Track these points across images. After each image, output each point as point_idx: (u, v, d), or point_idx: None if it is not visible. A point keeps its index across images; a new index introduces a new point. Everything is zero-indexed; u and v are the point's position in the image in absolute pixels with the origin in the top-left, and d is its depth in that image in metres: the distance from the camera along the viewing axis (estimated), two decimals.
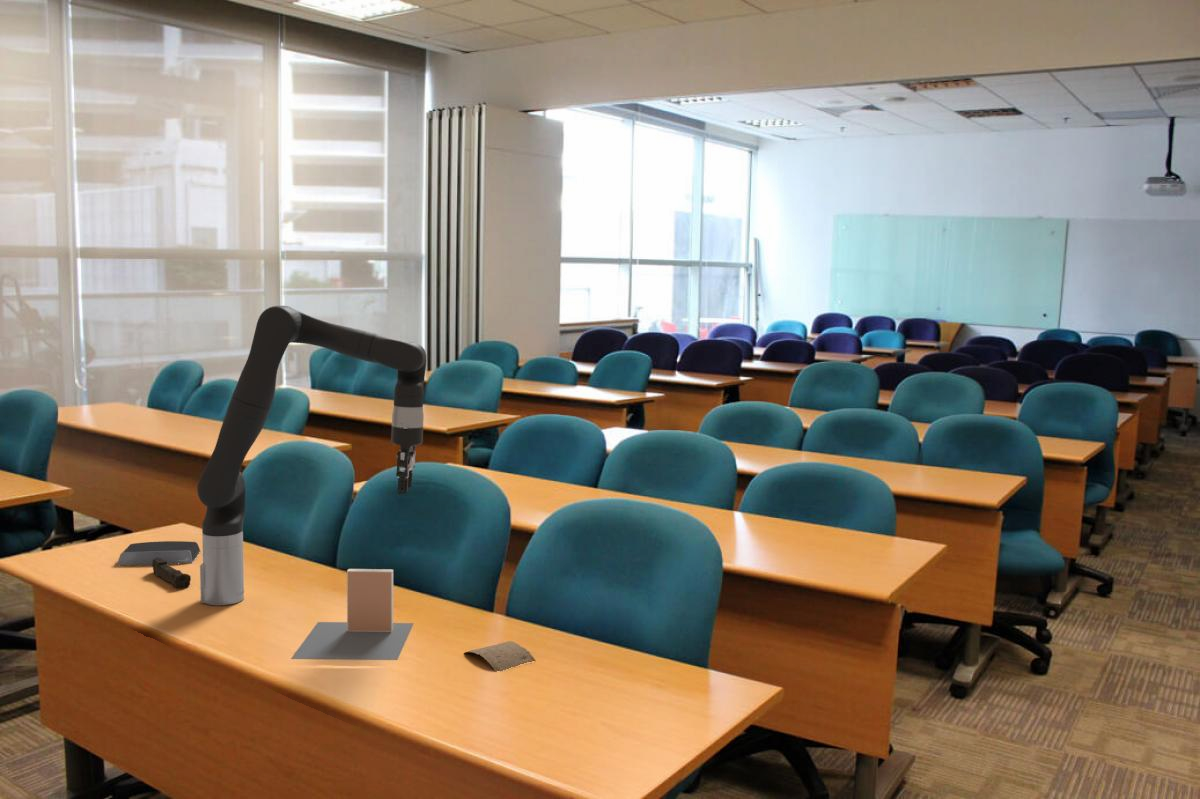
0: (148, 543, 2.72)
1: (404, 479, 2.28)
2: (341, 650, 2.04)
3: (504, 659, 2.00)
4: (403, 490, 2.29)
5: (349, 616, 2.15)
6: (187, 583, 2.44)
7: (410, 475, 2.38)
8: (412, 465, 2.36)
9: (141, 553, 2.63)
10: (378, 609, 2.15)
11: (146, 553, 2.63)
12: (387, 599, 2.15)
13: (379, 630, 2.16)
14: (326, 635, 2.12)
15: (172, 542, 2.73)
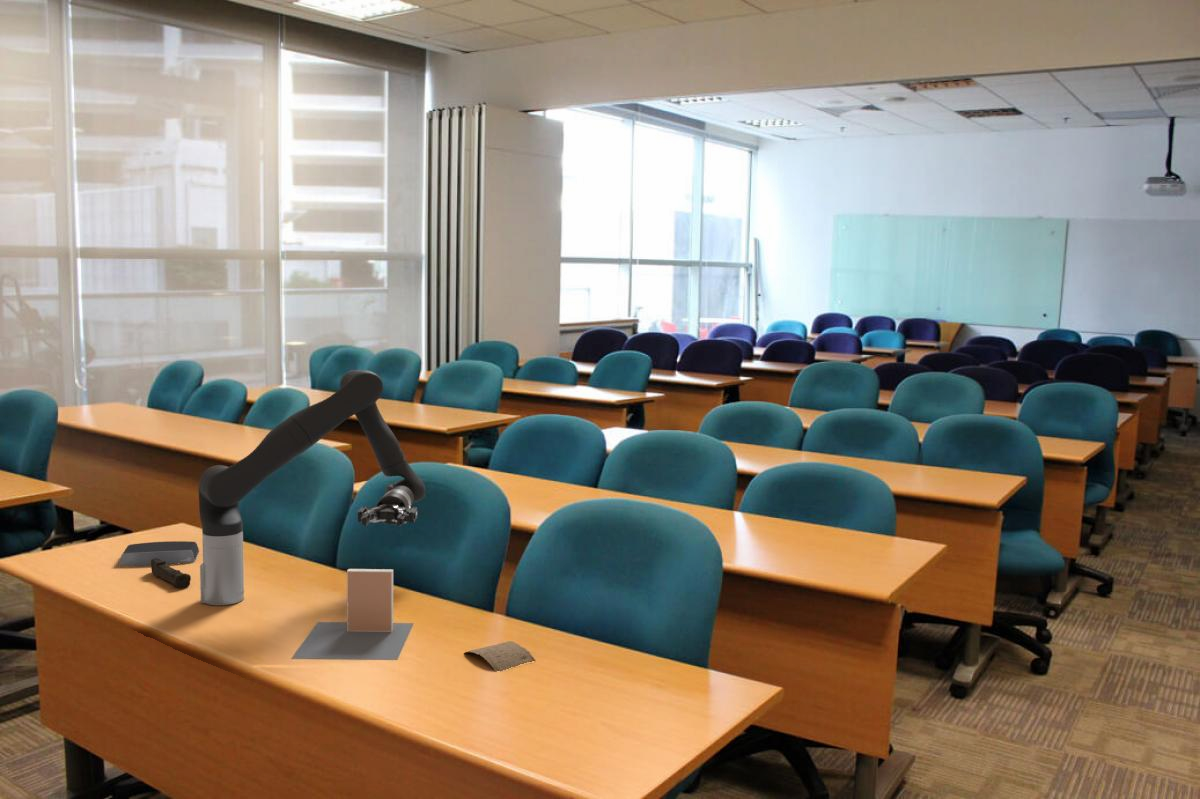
0: (147, 544, 2.71)
1: (405, 520, 2.31)
2: (341, 650, 2.04)
3: (504, 659, 2.00)
4: (403, 522, 2.29)
5: (349, 616, 2.15)
6: (187, 582, 2.44)
7: (368, 521, 2.30)
8: (374, 520, 2.33)
9: (142, 554, 2.62)
10: (378, 609, 2.15)
11: (148, 554, 2.62)
12: (387, 599, 2.15)
13: (379, 630, 2.16)
14: (326, 635, 2.12)
15: (171, 542, 2.73)
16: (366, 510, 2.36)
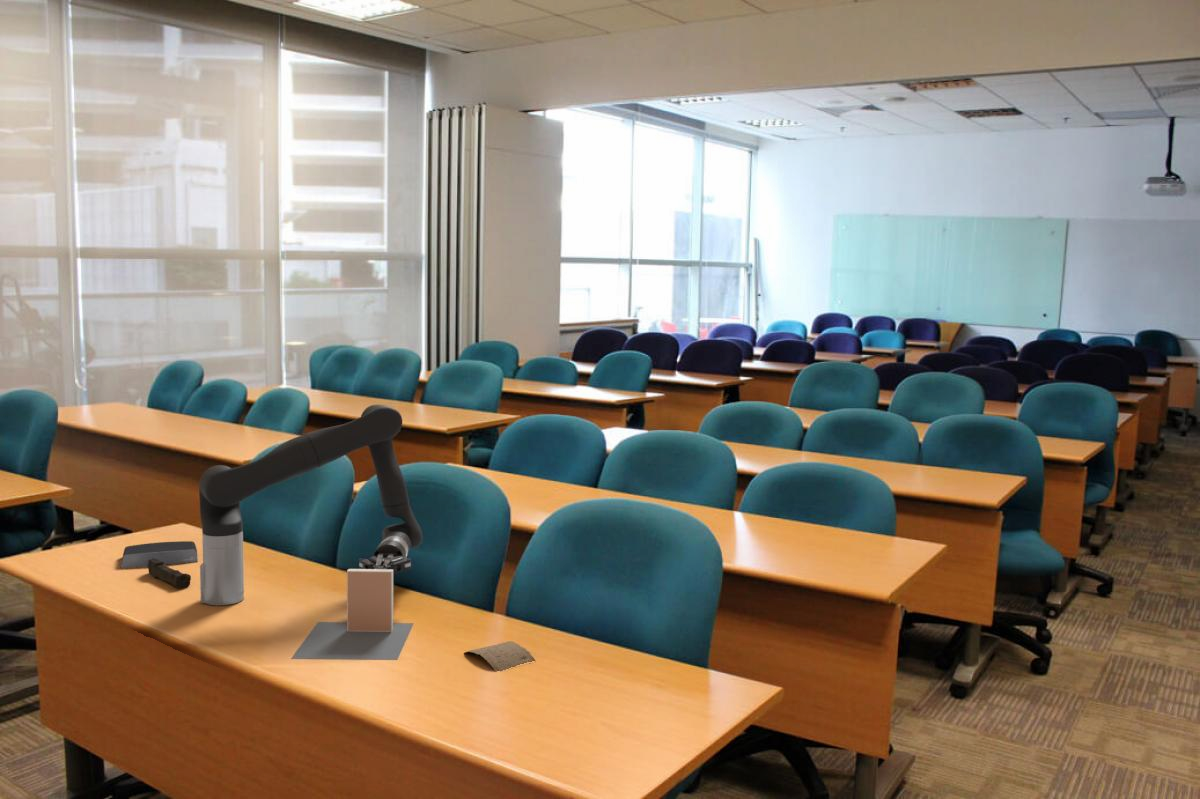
0: (145, 545, 2.70)
1: None
2: (341, 650, 2.04)
3: (504, 659, 2.00)
4: None
5: (349, 616, 2.15)
6: (187, 582, 2.44)
7: None
8: None
9: (145, 554, 2.61)
10: (378, 609, 2.15)
11: (150, 554, 2.62)
12: (387, 599, 2.15)
13: (379, 630, 2.16)
14: (326, 635, 2.12)
15: (169, 543, 2.73)
16: None
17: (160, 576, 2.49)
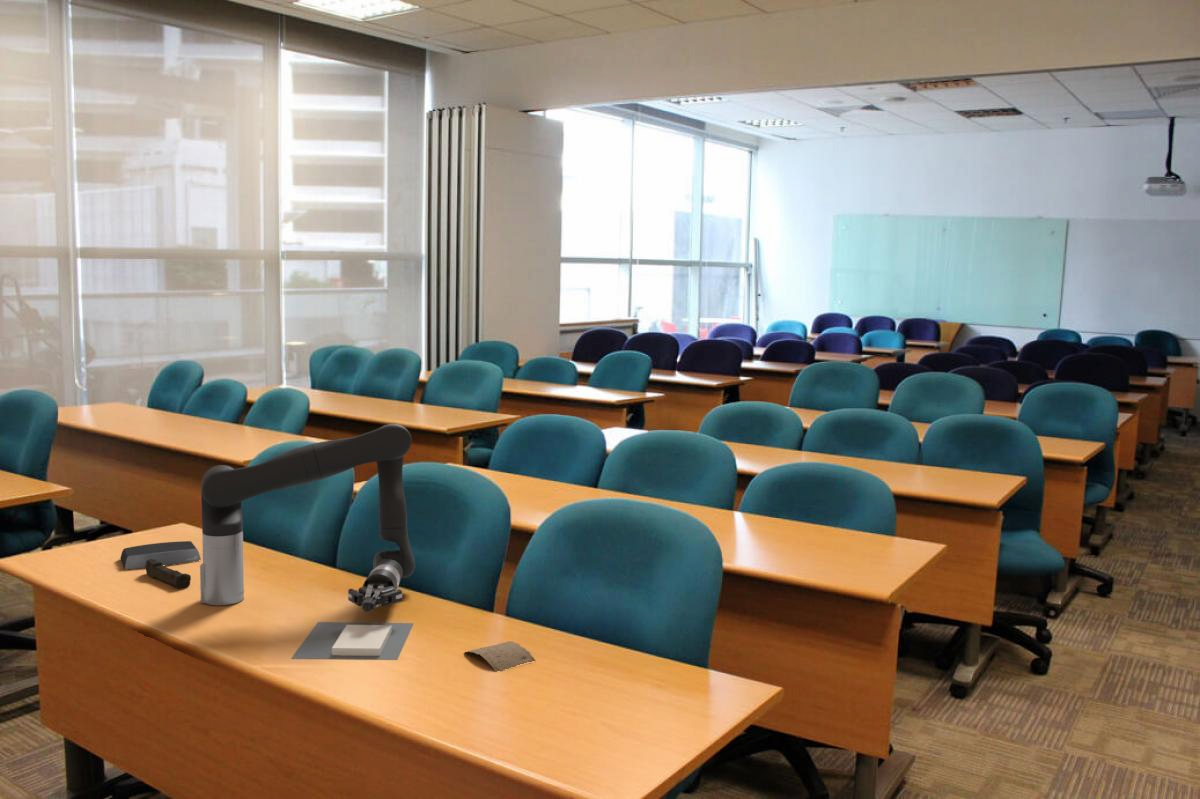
0: (143, 546, 2.69)
1: (377, 604, 2.16)
2: None
3: (504, 659, 2.00)
4: (374, 607, 2.13)
5: None
6: (187, 582, 2.44)
7: None
8: None
9: (149, 555, 2.61)
10: None
11: (154, 555, 2.61)
12: None
13: None
14: (326, 635, 2.12)
15: (167, 543, 2.72)
16: None
17: (159, 576, 2.48)
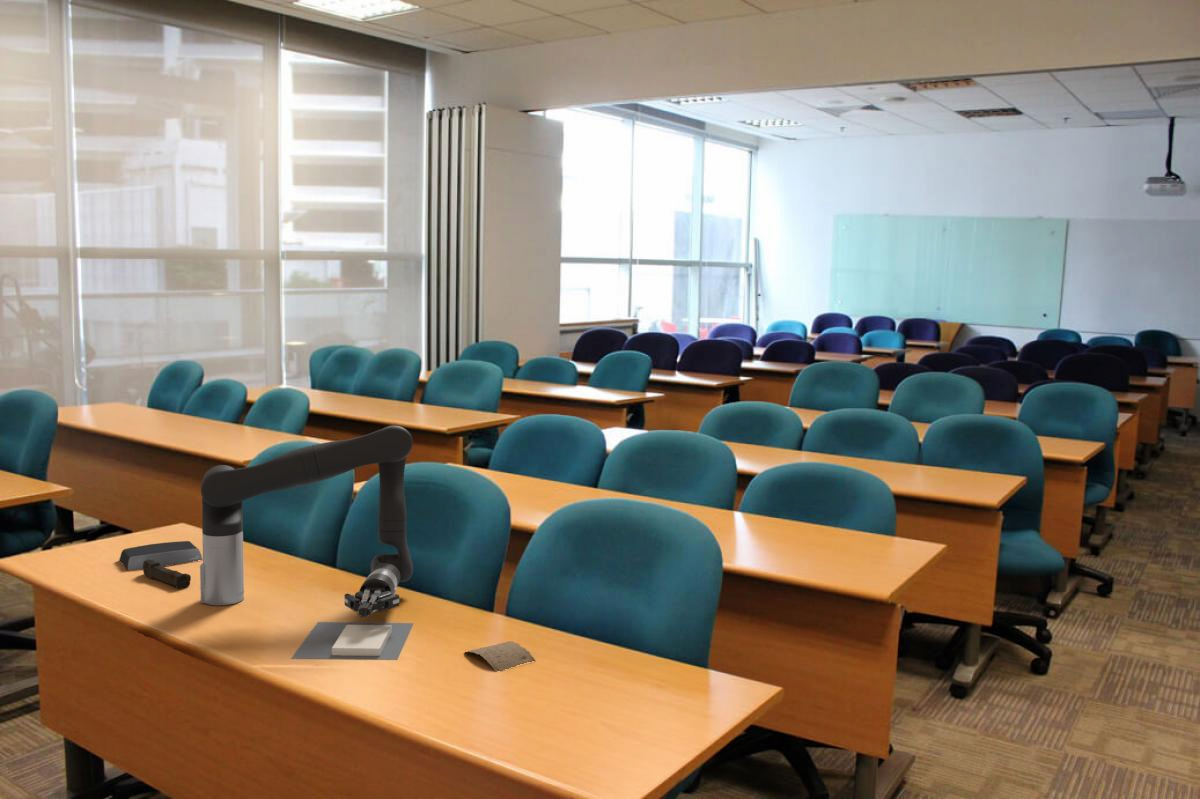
0: (143, 547, 2.68)
1: (373, 609, 2.12)
2: None
3: (504, 659, 2.00)
4: (370, 613, 2.10)
5: None
6: (187, 582, 2.44)
7: None
8: None
9: (151, 555, 2.61)
10: None
11: (157, 555, 2.61)
12: None
13: None
14: (326, 635, 2.12)
15: (167, 543, 2.72)
16: None
17: (158, 577, 2.48)
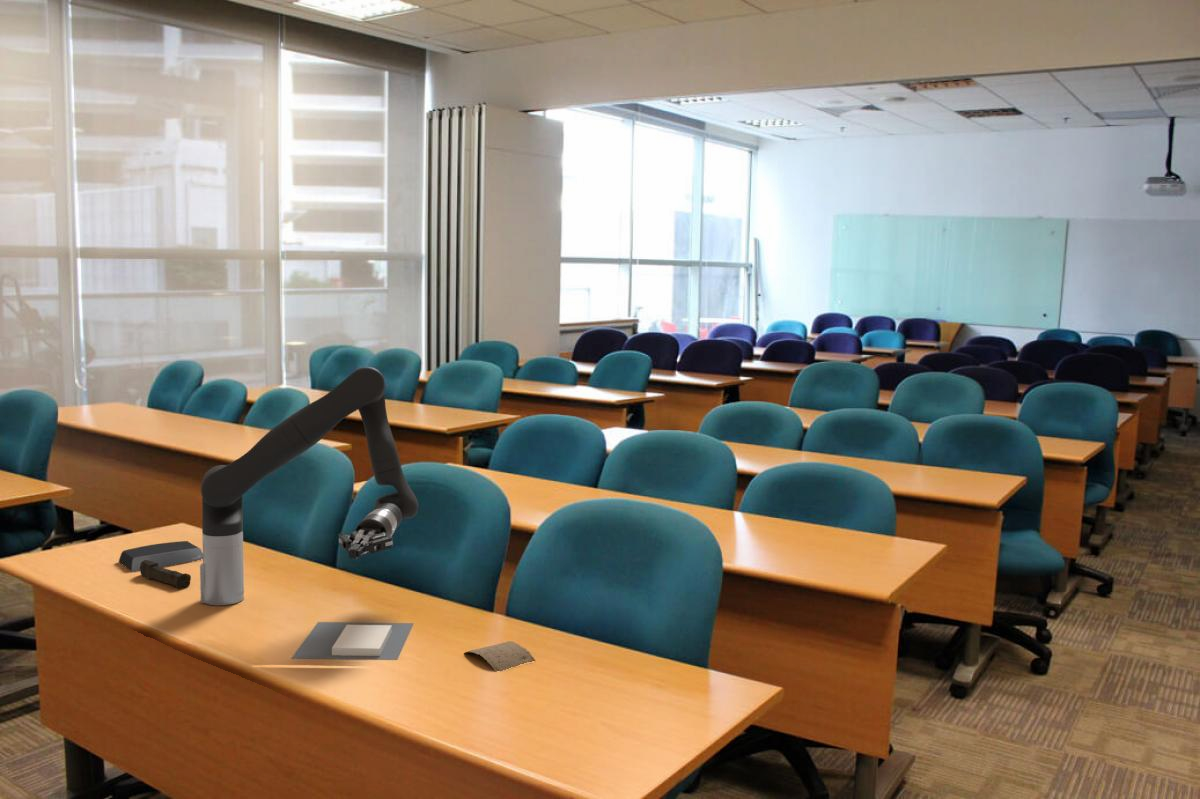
0: (142, 547, 2.67)
1: (364, 551, 2.11)
2: None
3: (504, 659, 2.00)
4: (360, 554, 2.09)
5: None
6: (187, 582, 2.44)
7: None
8: None
9: (155, 556, 2.60)
10: None
11: (160, 555, 2.61)
12: None
13: None
14: (326, 635, 2.12)
15: (166, 544, 2.71)
16: None
17: (156, 577, 2.48)
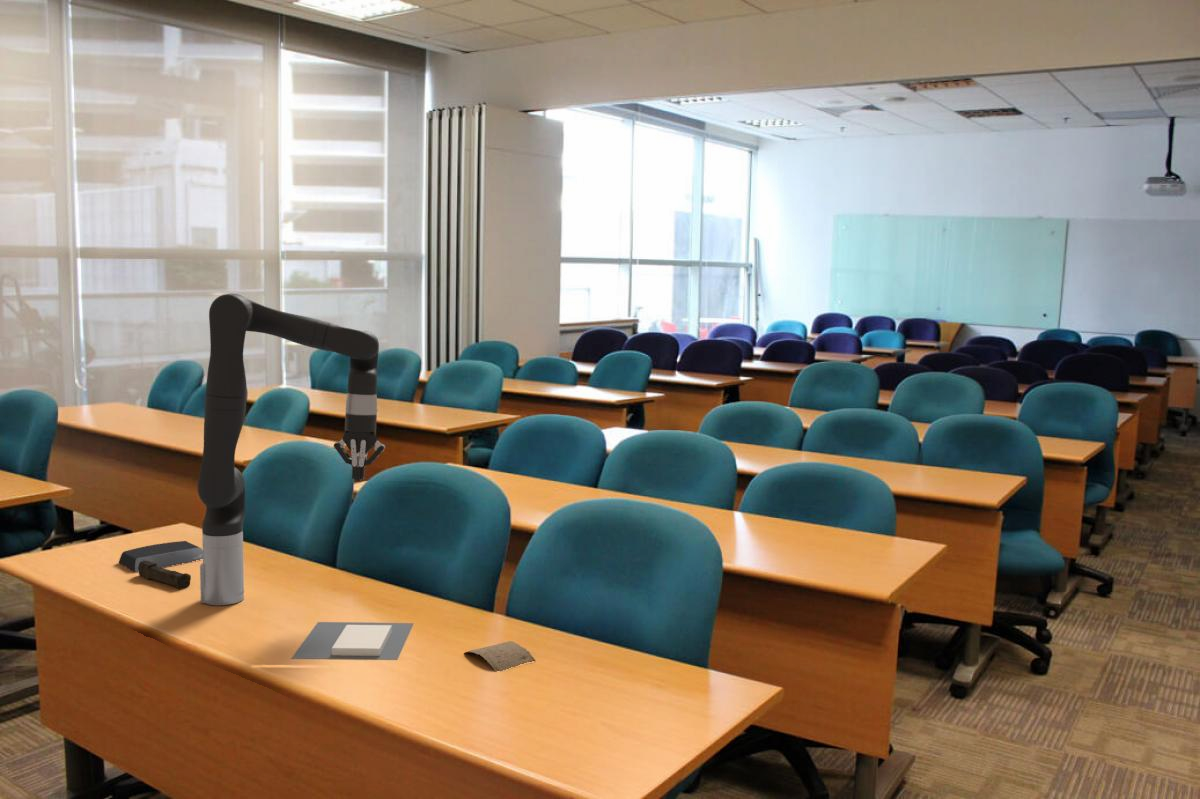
0: (142, 548, 2.66)
1: (364, 466, 2.38)
2: None
3: (504, 659, 2.00)
4: (363, 477, 2.38)
5: None
6: (187, 582, 2.44)
7: None
8: (358, 454, 2.38)
9: (158, 556, 2.60)
10: None
11: (163, 555, 2.61)
12: None
13: None
14: (326, 635, 2.12)
15: (165, 544, 2.71)
16: (342, 447, 2.36)
17: (156, 577, 2.47)
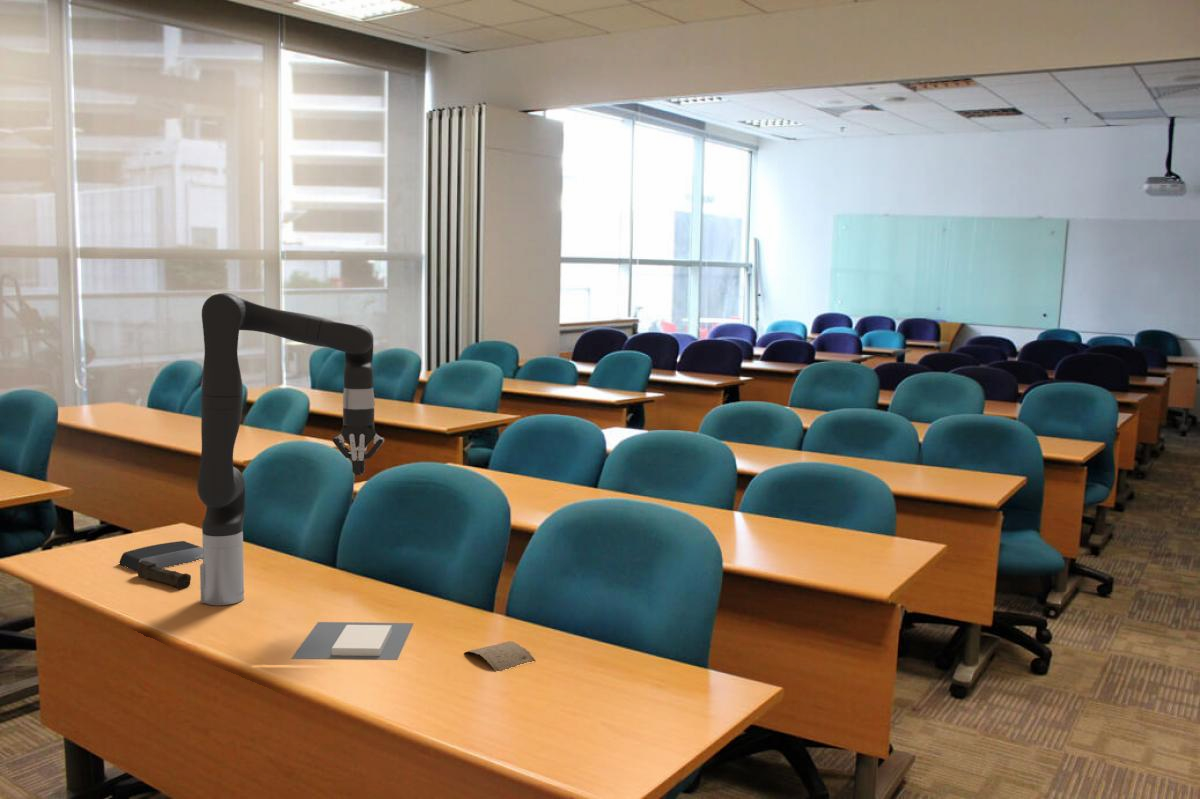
0: (142, 549, 2.66)
1: (364, 460, 2.38)
2: None
3: (504, 659, 2.00)
4: (364, 471, 2.39)
5: None
6: (187, 582, 2.45)
7: None
8: (358, 448, 2.39)
9: (161, 556, 2.60)
10: None
11: (165, 555, 2.61)
12: None
13: None
14: (326, 635, 2.12)
15: (164, 544, 2.71)
16: (341, 442, 2.37)
17: (155, 578, 2.47)
